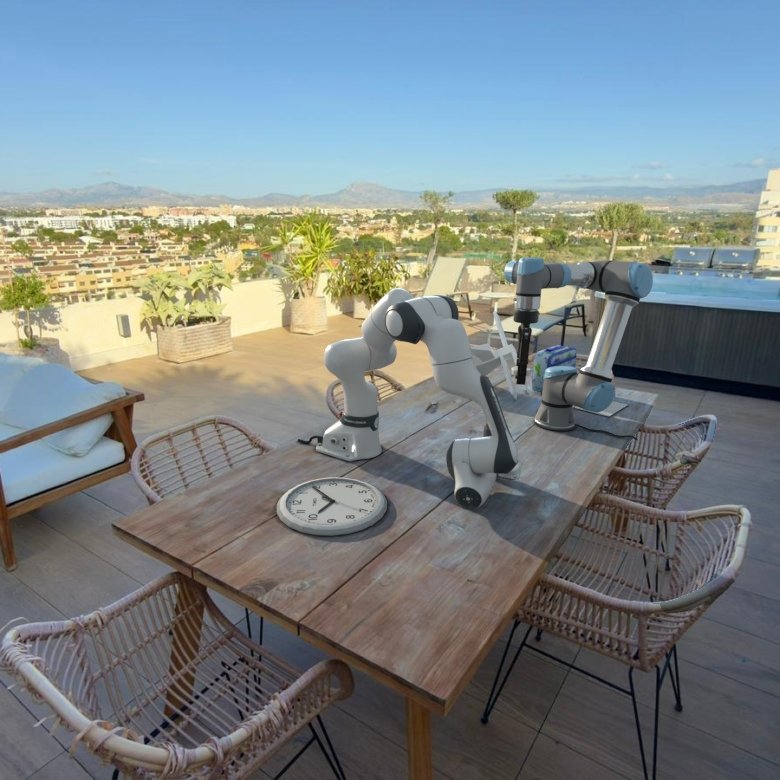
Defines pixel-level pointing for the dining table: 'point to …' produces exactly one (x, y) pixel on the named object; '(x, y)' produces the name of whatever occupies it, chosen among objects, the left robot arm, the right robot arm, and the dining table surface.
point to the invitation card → (608, 409)
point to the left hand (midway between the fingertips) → (491, 455)
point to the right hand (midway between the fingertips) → (520, 381)
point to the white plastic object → (497, 358)
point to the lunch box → (551, 363)
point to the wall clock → (331, 506)
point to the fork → (432, 403)
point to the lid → (515, 368)
